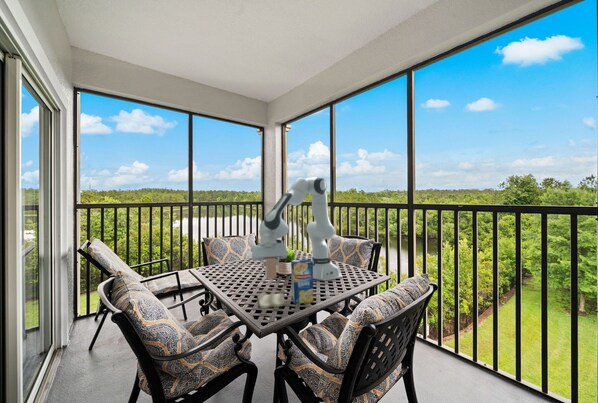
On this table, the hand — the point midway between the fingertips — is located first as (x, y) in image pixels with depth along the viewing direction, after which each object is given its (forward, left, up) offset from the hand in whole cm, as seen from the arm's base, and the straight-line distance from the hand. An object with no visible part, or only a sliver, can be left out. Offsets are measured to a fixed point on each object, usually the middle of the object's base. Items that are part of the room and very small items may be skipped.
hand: (270, 265), depth 142 cm
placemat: (0, 0, -20) cm, 21 cm away
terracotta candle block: (0, -1, -6) cm, 6 cm away
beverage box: (-17, +3, -21) cm, 27 cm away
